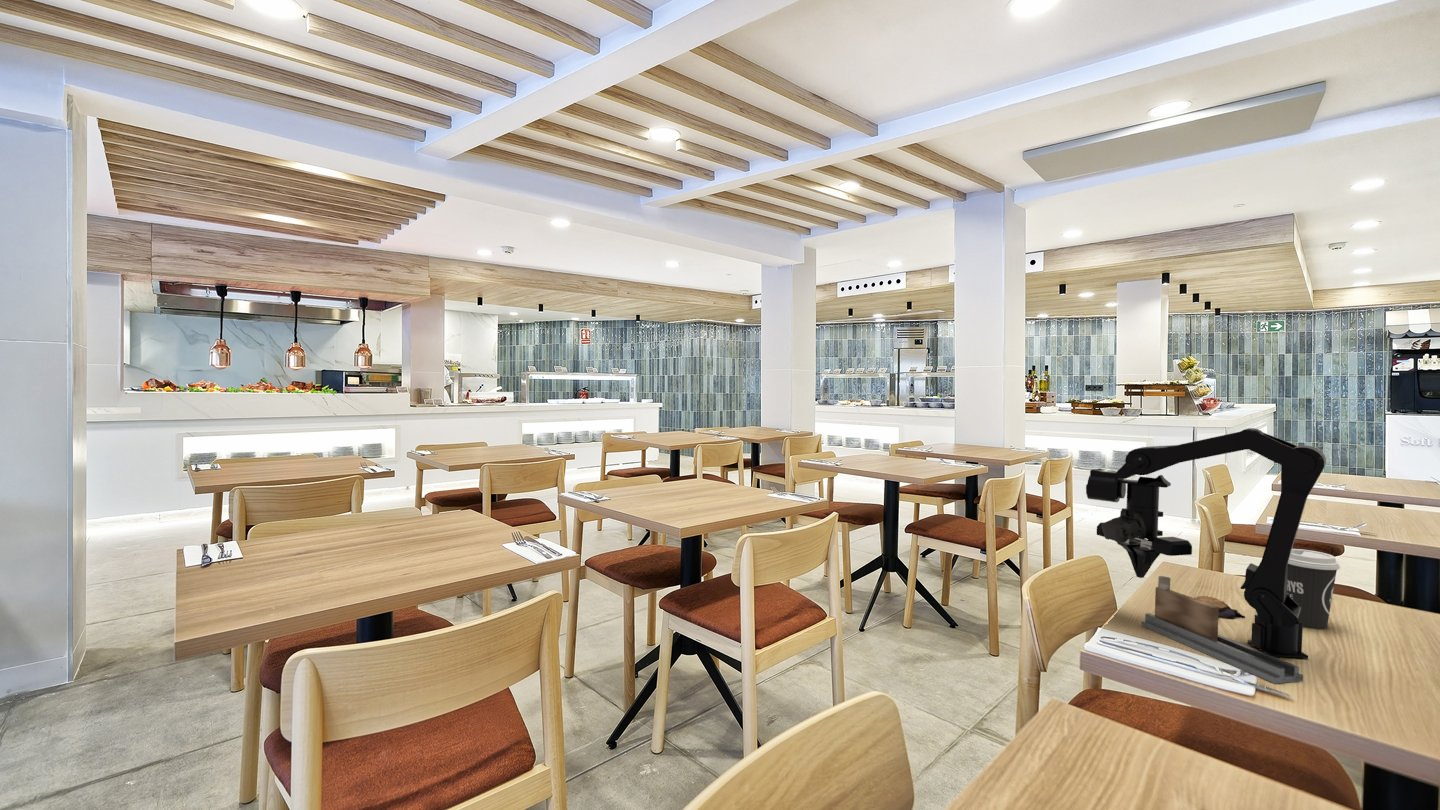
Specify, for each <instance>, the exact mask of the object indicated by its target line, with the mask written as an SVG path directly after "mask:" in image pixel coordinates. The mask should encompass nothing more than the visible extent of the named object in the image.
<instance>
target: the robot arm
mask: <svg viewBox="0 0 1440 810" xmlns="http://www.w3.org/2000/svg"><path fill="white" fill-rule="evenodd" d="M1245 450H1246V451H1247V450H1248V451H1252V452H1253V453H1256V454H1258V455H1260V456H1262V457H1263V458H1266V459H1267V460H1269V461H1272V462H1273V463H1276V464H1279V465H1281V466H1280V467H1281V468H1280V469H1281V472H1280V496H1279V500H1278V503H1277V506H1276V510H1275V513H1274V516H1273V520H1272V523H1271V526H1270V527H1271V528H1270V531H1269V533H1268V538H1267V541H1266V544H1265V547H1264V551H1263V555H1262V559H1261V560H1260V563H1259V565H1256V564H1254V563H1252V562H1250V563H1249V565H1248V566H1247V567H1246V568H1245V577H1244V578H1245V579H1244V581H1243V583H1242V584H1241V586H1240V590H1244V591H1243V598H1244V600H1245V601H1246V602H1247V604H1248V605H1249V606H1250V607H1252V609H1253V610H1254V611H1255V613H1256V614H1254V622H1252V624H1251V639H1248V640H1247V643H1248V644H1249V645H1251V646H1253V647H1255V648H1256V649H1257V650H1258V651H1261V652H1263V653H1266V654H1268V655H1271V656H1273V657H1276V658H1277V657H1280V658H1294V659H1295V658H1296V659H1309V655H1308V654H1306V653H1304V652H1303V651H1302V650H1303V633H1304V632H1303V630H1304V629H1303V628H1304V627H1303V623H1302V622H1300V621H1298V617H1299V614H1300V611H1301V607H1300V606H1299V605H1298V604H1297V603H1296V602H1295V601H1294V600H1293V599H1292V598H1291V597H1290V596H1289V595H1287V582H1288V569H1287V567H1288V561H1289V558H1290V554H1291V551H1292V549H1293V548H1294V543H1295V540H1296V537H1297V533H1298V531H1299V527H1300V523H1301V519H1302V516H1303V513H1304V509H1305V508H1306V507H1305V505H1306V503H1307V500H1308V497H1309V495H1310V493H1311V491H1312V490H1313V488H1314V486H1315V484H1316V482H1317V481H1318V479H1319V478H1320V476H1321V474H1322V472H1323V470H1325V467H1326V465H1327V458H1326V455H1325V454H1324V453H1323V452H1322V451H1321V450H1320V449H1318V448H1317V447H1314V446H1312V445H1296V444H1294V443H1291V442H1290V441H1289V442H1288V441H1287V440H1284V439H1281V438H1279V437H1275V436H1273V435H1270V434H1269V433H1265V432H1263V431H1262V430H1260V429H1258V428H1254V427H1250V428H1245V429H1242V430H1241V431H1237V432H1232V433H1231V432H1230V433H1228V434H1223V435H1218V436H1213V437H1207V438H1204V439H1199V440H1194V441H1190V442H1186V443H1180V444H1174V445H1173V444H1172V445H1155V446H1154V445H1153V446H1143V447H1142V446H1141V447H1138V448H1134V449H1132V450H1130V451H1129V452H1127V454H1126V456H1125V460H1124V462H1125V463H1124V464H1123V465H1122V466H1121V467H1120V468H1119V469H1117V471H1105V470H1101V469H1097V468H1096V469H1095V468H1094V469H1093V468H1092V469H1090V471H1089V476H1088V479H1087V484H1086V485H1085V494H1086V497H1087V499H1088V500H1094V501H1095V500H1096V501H1103V502H1111V503H1118V502H1119V501H1120V499H1125V497H1126V508H1121V510H1120V515H1119V516H1117V517H1113V518H1111V519H1110V520H1107V521H1106V522H1105V521H1104V522H1099V523H1098V524H1097V526H1096V535H1097V536H1100V537H1103V538H1104V539H1105V540H1111V541H1114V542H1115V543H1116V544H1117V545H1118V546H1120V547H1122V548H1123V549H1125V552H1127V555H1128V557H1129V560H1130V562H1131V565H1132V568H1133V570H1134V573H1135V575H1136V578H1139V579H1143V578H1145V576H1146V575H1147V573H1148V571H1149V570H1150V569H1151V567H1152V565H1153V564H1154V563H1155V561H1156V560H1157V559H1158V557H1159V556H1160V554H1161V555H1165V556H1169V557H1173V556H1174V557H1175V556H1188V555H1190V556H1191V555H1193V545H1192V544H1191V542H1190V541H1189V540H1186V539H1183V538H1179V537H1176V536H1164V537H1163V534H1164V531H1163V530H1159V518H1164V511H1162V510H1161V511H1160V509H1159V506H1160V505H1159V503H1160V488H1164V489H1165V488H1168V487H1170V486H1171V485H1172V483H1171V482H1170V481H1169V480H1167V479H1166V478H1165V477H1164V475H1163V474H1160V475H1158V476H1156V477H1147V476H1148V475H1150V474H1152V473H1155V472H1158V471H1160V470H1163V469H1166V468H1169V467H1173V466H1175V465H1178V464H1179V463H1185V462H1189V461H1195V460H1200V459H1204V458H1210V457H1216V456H1219V455H1225V454H1230V453H1235V452H1236V453H1237V452H1240V451H1245ZM1133 476H1140V477H1138V479H1137V480H1135V479H1128V478H1132V477H1133Z"/></svg>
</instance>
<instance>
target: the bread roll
mask: <svg viewBox="0 0 1440 810" xmlns="http://www.w3.org/2000/svg"><path fill="white" fill-rule="evenodd" d="M1194 598H1195V599H1197V600H1200V601H1203V602H1206V603H1209V604H1212V605H1214V606H1217V607H1219V617H1218V619H1229V620H1230V619H1232V620H1233V619H1236V620H1240V619H1245V618H1246V616H1245V615H1242V614H1241V613H1240V612H1239V611H1238V610H1237V609H1233V608H1231V607H1230V606H1229V605H1228V604H1227V603H1225V601H1223V600H1220V599H1219V598H1216V597H1213V596H1208V595H1203V596H1202V595H1201V596H1196V597H1194Z"/></svg>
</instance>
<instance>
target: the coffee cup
mask: <svg viewBox="0 0 1440 810" xmlns="http://www.w3.org/2000/svg"><path fill="white" fill-rule="evenodd" d="M1287 569H1288V582H1287V595H1289V596H1290V597H1291V598H1292V599H1293V600H1294V601H1295V602H1296V603H1297V604H1298V605H1299V606H1300V607H1301V611H1300V614H1299V617H1298V621H1300V622H1302V623H1303V628H1309V629H1314V630H1315V629H1317V630H1325V629H1327V628H1328V624H1329V619H1330V618H1329V617H1330V612H1331V606H1332V600H1333V594H1334V587H1335V582H1336V576H1337V571H1338V570H1341V565H1340V564H1339V562H1338V561H1337V560H1336V557H1335V556H1334V555H1333V554H1329V553H1325V552H1322V551H1316V550H1308V549H1301V548H1292V551H1291V554H1290V558H1289V561H1288V567H1287Z"/></svg>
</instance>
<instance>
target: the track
mask: <svg viewBox="0 0 1440 810" xmlns="http://www.w3.org/2000/svg"><path fill="white" fill-rule="evenodd" d="M1144 616H1145V617H1144V620H1141V623H1140V624H1141V627H1143V628H1146V629H1148V630H1151V631H1153V632H1154V633H1157V634H1160V635H1162V636H1164V637H1167V638H1169V639H1172V640H1174V641H1176V642H1178V643H1180V644H1183V645H1185V646H1187V647H1188V648H1192V649H1194V650H1195V651H1199V652H1201V653H1203V654H1206V655H1208V656H1210V657H1212V658H1215V659H1217V660H1220V661H1222V662H1224V663H1226V664H1228V665H1231V666H1233V667H1236V668H1238V669H1240V670H1242V671H1243V672H1247V673H1249V674H1251V675H1254V676H1255V677H1258V678H1261V679H1263V680H1265V681H1268V682H1270V683H1273V684H1275V685H1277V684H1279V685H1280V684H1287V683H1296V682H1303V680H1304V675H1303V674H1302V673H1300V666H1298V665H1296V664H1293V663H1290V662H1289V661H1285V660H1283V659H1280V658H1277V657H1276V656H1271V655H1268V654H1266V653H1264V652H1263V651H1261V650H1259V649H1257V648H1256V649H1255V648H1253V647H1250V646H1248V645H1245V644H1243V643H1240V642H1238V641H1236V640H1233V639H1230V638H1228V637H1225V636H1222V635H1220V634H1218V641H1216V640H1214V639H1211V638H1209V637H1206V636H1204V635H1201V634H1199V633H1197V632H1194V631H1192V630H1189V629H1187V628H1184V627H1182V626H1179V625H1177V624H1174V623H1172V622H1170V621H1167V620H1165V619H1162V618H1160V617H1157V616H1155V614H1152V613H1149V612H1147V613H1145V615H1144Z"/></svg>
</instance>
